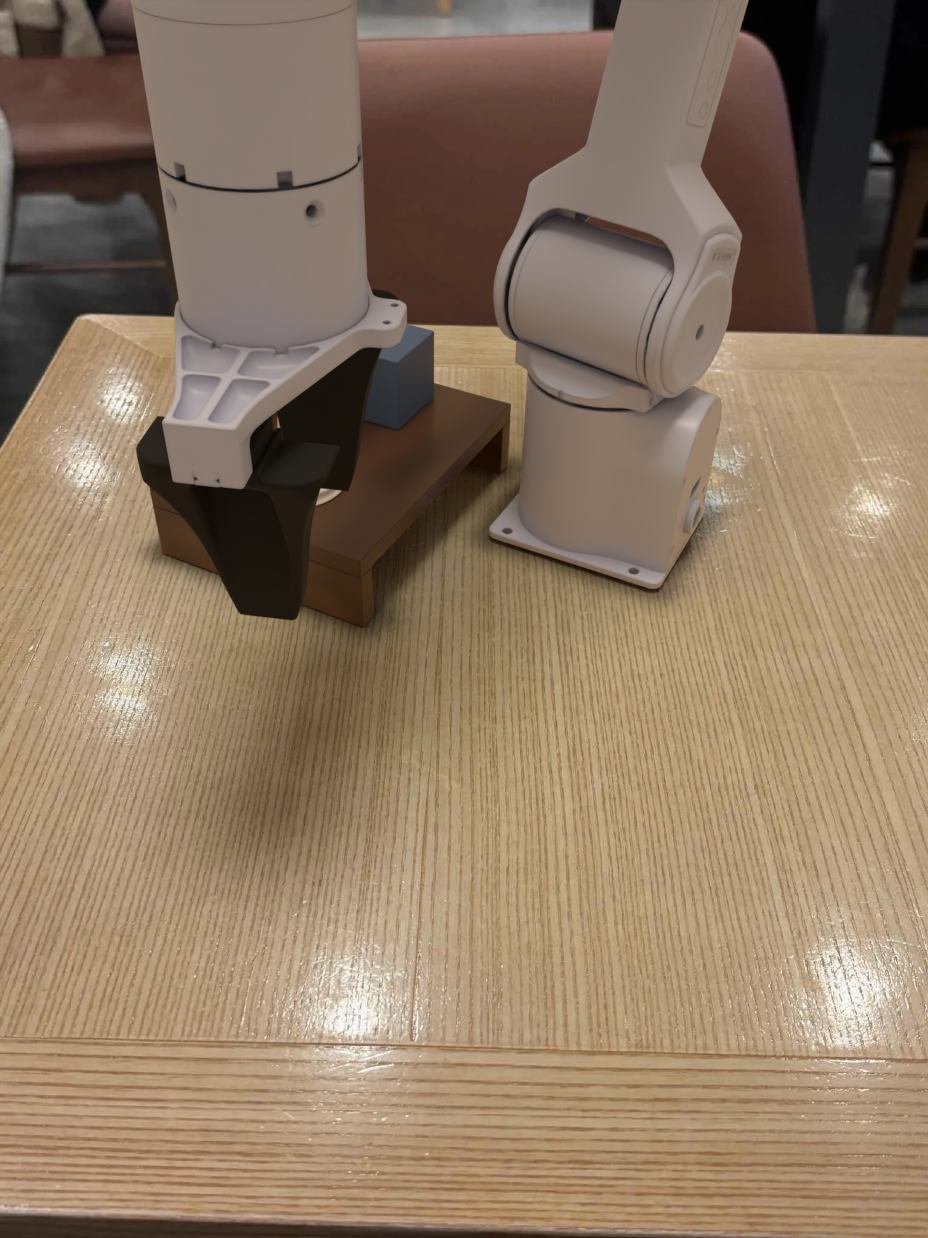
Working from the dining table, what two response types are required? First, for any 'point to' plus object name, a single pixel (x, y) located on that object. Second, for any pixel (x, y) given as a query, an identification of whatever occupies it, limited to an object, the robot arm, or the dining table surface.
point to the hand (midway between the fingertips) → (299, 543)
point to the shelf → (376, 496)
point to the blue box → (402, 379)
